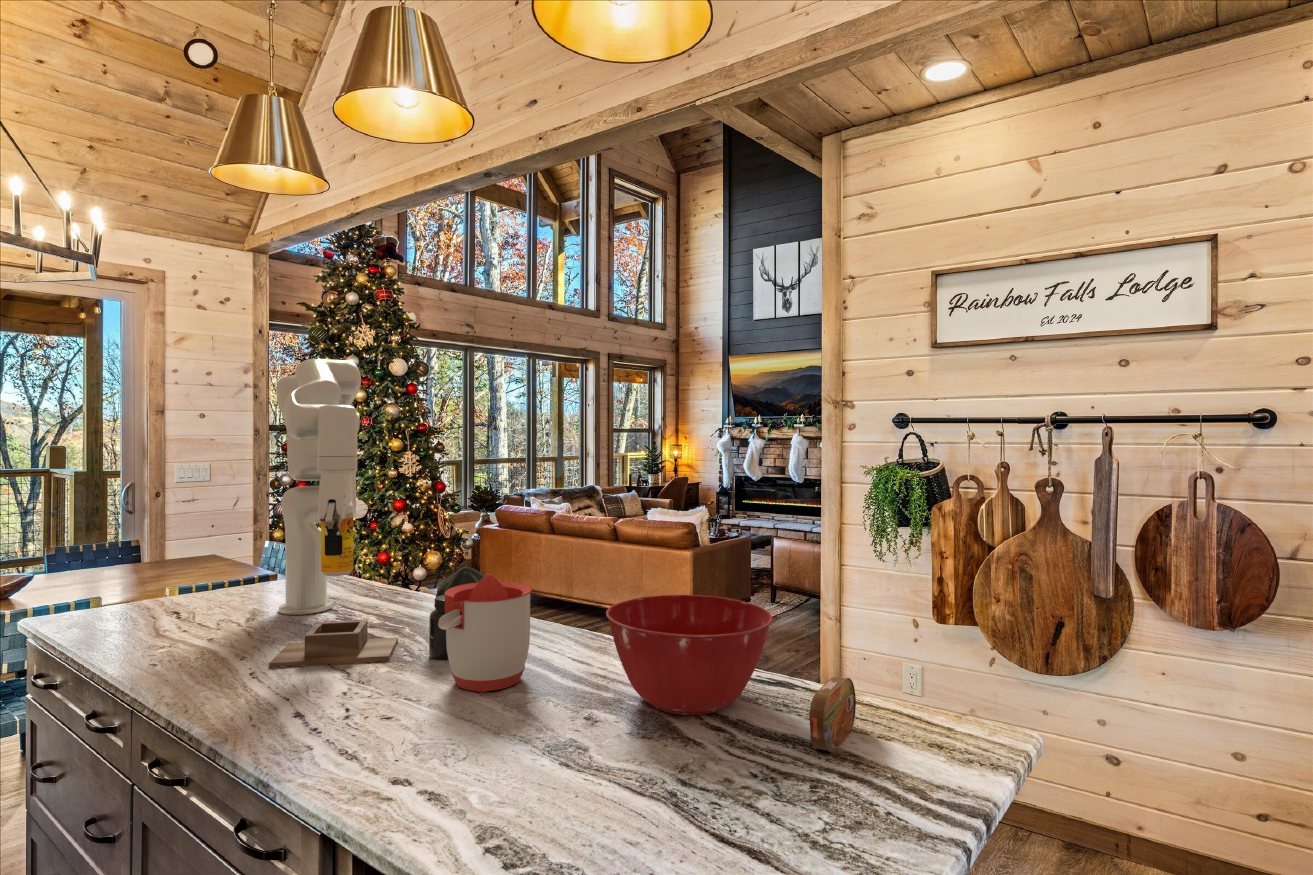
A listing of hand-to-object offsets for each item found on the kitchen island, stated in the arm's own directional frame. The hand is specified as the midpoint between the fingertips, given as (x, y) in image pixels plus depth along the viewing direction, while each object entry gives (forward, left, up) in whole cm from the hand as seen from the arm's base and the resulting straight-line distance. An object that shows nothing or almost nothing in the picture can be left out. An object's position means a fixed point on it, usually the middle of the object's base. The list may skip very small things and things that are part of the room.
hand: (337, 551), depth 147 cm
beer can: (0, 0, -5) cm, 5 cm away
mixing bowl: (+39, +65, -21) cm, 78 cm away
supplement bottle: (+5, +22, -21) cm, 31 cm away
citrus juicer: (+23, +30, -21) cm, 43 cm away
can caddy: (0, 0, -21) cm, 21 cm away
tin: (+58, +82, -22) cm, 103 cm away
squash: (-18, +25, -21) cm, 38 cm away
